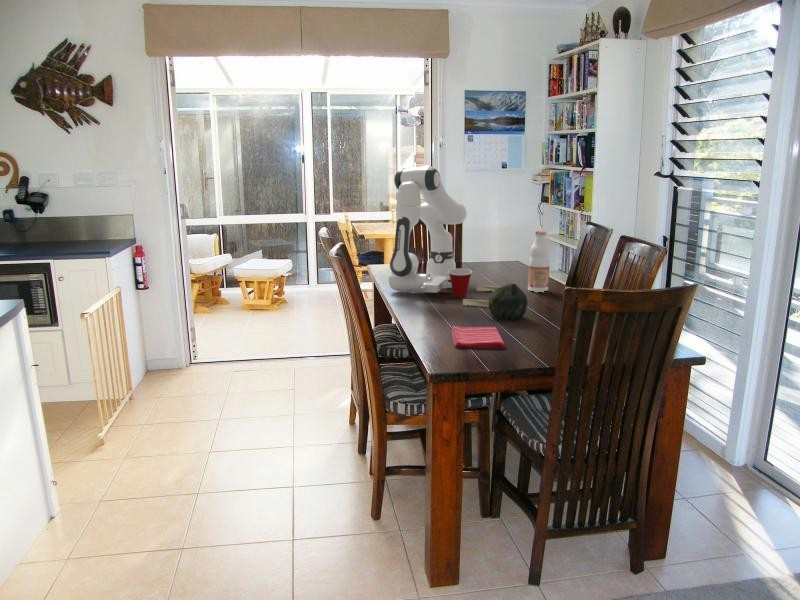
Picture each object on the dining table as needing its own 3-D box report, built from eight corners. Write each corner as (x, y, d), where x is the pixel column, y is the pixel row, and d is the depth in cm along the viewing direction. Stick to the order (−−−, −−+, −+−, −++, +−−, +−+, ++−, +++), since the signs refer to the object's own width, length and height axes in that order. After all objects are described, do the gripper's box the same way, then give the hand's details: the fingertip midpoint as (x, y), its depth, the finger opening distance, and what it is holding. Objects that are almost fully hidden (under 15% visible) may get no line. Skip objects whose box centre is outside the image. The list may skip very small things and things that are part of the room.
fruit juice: (523, 290, 304) (526, 231, 297) (537, 287, 309) (540, 229, 302) (537, 293, 296) (541, 233, 290) (552, 291, 301) (555, 231, 295)
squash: (486, 298, 262) (491, 276, 249) (523, 300, 261) (529, 278, 249) (487, 327, 253) (492, 306, 241) (525, 329, 253) (532, 308, 241)
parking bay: (476, 290, 303) (476, 285, 302) (516, 293, 297) (516, 287, 297) (462, 305, 274) (462, 299, 273) (506, 308, 268) (506, 302, 268)
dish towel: (455, 350, 214) (455, 342, 213) (450, 331, 237) (450, 324, 236) (506, 350, 213) (506, 343, 213) (496, 331, 237) (496, 324, 236)
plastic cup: (446, 298, 286) (446, 272, 283) (449, 293, 296) (449, 268, 293) (470, 299, 284) (471, 273, 281) (472, 294, 294) (473, 268, 291)
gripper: (417, 281, 283) (447, 283, 279) (429, 272, 302) (458, 274, 298) (417, 295, 285) (447, 297, 280) (429, 285, 303) (457, 287, 299)
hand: (453, 285), depth 289 cm, fingers closed
